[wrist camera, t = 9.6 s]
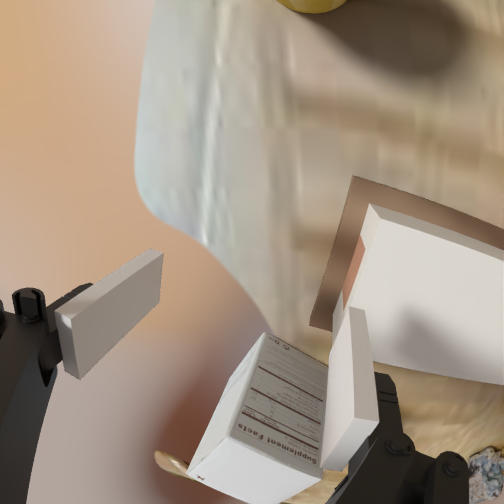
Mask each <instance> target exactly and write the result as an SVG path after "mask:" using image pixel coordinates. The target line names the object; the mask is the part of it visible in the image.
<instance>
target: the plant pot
mask: <svg viewBox="0 0 504 504" xmlns="http://www.w3.org/2000/svg"><path fill="white" fill-rule="evenodd" d="M277 1H278V2H279V3H281V4H282V5H284V6H285V7H287V8H289V9H292V10H295V11H298V12H303V13H324V12H328V11H331V10H333V9H336V8H338V7H339V6H341V5H342V4H343V3H345V2H346V0H277Z"/></svg>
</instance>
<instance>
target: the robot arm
mask: <svg viewBox="0 0 504 504" xmlns="http://www.w3.org/2000/svg"><path fill="white" fill-rule="evenodd" d="M162 264H163V253H162V252H159V251H155V250H152V249H149V250H147V251H145V252H144V253H142V254H141V255H139V256H137V257H136V258H134V259H132V260H131V261H129V262H128V263H126V264H125V265H123V266H121V267H120V268H118V269H117V270H115V271H114V272H112V273H111V274H109V275H107V276H106V277H104V278H103V279H102V280H100V281H98V282H97V283H95V284H92V283H88V284H84V285H80V286H78V287H77V288H75V289H73V290H72V291H71V292H69V293H67V294H66V295H64V297H61V298H60V299H58V300H56V301H55V302H53V303H52V304H51V305H49V306H47V307H46V304H45V296H44V294H43V292H42V291H41V290H39V289H36V288H23V289H19V290H17V291H15V292H14V293H13V294H12V299H13V304H14V310H15V314H13V313H9V312H6V311H4V308H3V303H2V301H1V300H0V504H26V500H27V494H28V488H29V482H30V476H31V472H32V467H33V462H34V457H35V453H36V448H37V444H38V440H39V436H40V432H41V427H42V424H43V420H44V416H45V413H46V409H47V406H48V402H49V399H50V396H51V392H52V389H53V386H54V383H55V379H56V377H57V364H58V363H59V362H61V361H62V360H63V364H64V370H65V372H67V373H69V374H70V375H72V376H74V377H76V378H77V379H79V380H81V378H82V377H84V376H85V374H86V373H88V371H89V370H91V368H92V367H94V366H95V364H96V363H98V362H99V360H101V359H102V358H103V357H104V356H105V355H106V354H107V353H108V352H109V351H110V350H111V349H112V348H113V347H114V346H115V345H116V344H117V343H118V342H119V341H120V340H121V339H122V338H123V337H124V336H125V335H126V334H127V333H128V332H129V331H130V330H131V329H132V328H133V327H134V326H135V325H136V324H137V323H138V322H139V321H140V320H142V319H143V318H144V317H145V316H146V315H147V314H148V313H149V312H150V311H151V310H152V309H153V308H154V307H155V306H156V305H157V304H158V303H159V300H160V287H161V275H162ZM348 463H349V466H348V475H347V476H346V477H345V478H344V479H343V480H342V481H341V482H340V484H339V485H338V486H337V487H336V488H335V492H334V493H333V494H332V496H331V497H330V498H329V500H328V501H327V502H326V504H469V469H468V464H467V463H466V461H465V459H464V458H463V457H462V456H460V455H459V454H457V453H455V452H451V451H446V452H443V453H441V454H440V455H439V456H438V457H437V458H436V459H435V458H432V457H430V456H427V455H425V454H422V453H420V452H418V451H416V450H415V446H414V443H413V441H412V440H411V439H410V437H409V436H407V435H406V434H404V433H403V428H402V422H401V415H400V409H399V405H398V398H397V392H396V387H395V384H394V382H393V381H392V379H391V378H390V376H389V375H387V374H383V373H378V372H374V368H373V361H372V354H371V347H370V340H369V334H368V327H367V321H366V315H365V310H362V309H358V308H354V307H350V306H348V309H347V312H346V314H345V317H344V319H343V322H342V325H341V327H340V330H339V332H338V335H337V337H336V339H335V342H334V344H333V347H332V349H331V351H330V354H329V369H328V386H327V400H326V413H325V424H324V435H323V445H322V454H321V463H320V468H324V469H329V470H335V471H341V472H342V470H343V469H344V468H345V467H346V466H347V464H348Z"/></svg>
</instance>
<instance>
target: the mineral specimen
mask: <svg viewBox="0 0 504 504" xmlns="http://www.w3.org/2000/svg"><path fill="white" fill-rule="evenodd" d="M500 454H501V451H497V452H494V449H493V448H492V447H490V446H488V447H486V448H485V449H484V450H482V451H481V452H479V453H477V454H475V455H473V456H471V457H469V461H468V469H469V504H477V503H480V502H483V501H486V500H488V499H489V500H494V499H497V498H498V497H499V495H500V494H501V491H502V487H503V483H504V475H503V474H502V472H503V470H504V457H500Z"/></svg>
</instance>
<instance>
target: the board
mask: <svg viewBox="0 0 504 504" xmlns="http://www.w3.org/2000/svg"><path fill="white" fill-rule="evenodd" d="M369 203H370V204H374V205H377V206H380V207H383V208H386V209H390V210H393V211H396V212H399V213H402V214H405V215H408V216H411V217H414V218H417V219H420V220H423V221H426V222H429V223H432V224H435V225H438V226H441V227H443V228H446V229H449V230H452V231H455V232H457V233H460V234H463V235H465V236H468V237H471V238H473V239H476V240H479V241H481V242H484V243H486V244H489V245H491V246H494V247H496V248H499V249H501V250H504V229H502V228H499V227H497V226H495V225H492V224H490V223H487V222H485V221H483V220H480V219H478V218H475V217H473V216H470V215H468V214H465V213H463V212H460V211H457V210H455V209H452V208H450V207H447V206H444V205H442V204H439V203H436V202H433V201H431V200H428V199H425V198H422V197H419V196H416V195H413V194H410V193H407V192H404V191H401V190H398V189H395V188H392V187H389V186H386V185H383V184H380V183H376V182H373V181H370V180H367V179H363V178H360V177H356V176H352V180H351V184H350V187H349V191H348V195H347V199H346V202H345V206H344V210H343V213H342V217H341V220H340V224H339V227H338V231H337V234H336V238H335V241H334V245H333V248H332V251H331V255H330V258H329V261H328V264H327V268H326V271H325V274H324V277H323V280H322V283H321V286H320V290H319V293H318V296H317V299H316V302H315V305H314V308H313V311H312V314H311V317H310V324H309V326H313V327H316V328H320V329H324V330H328V331H331V332H333V313H334V310H335V307H336V304H337V302H338V299H339V296H340V293H341V291H342V288H343V285H344V282H345V279H346V276H347V273H348V270H349V267H350V264H351V261H352V258H353V255H354V252H355V249H356V246H357V243H358V239H359V236H360V233H361V230H362V226H363V223H364V220H365V216H366V213H367V209H368V206H369Z"/></svg>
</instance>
